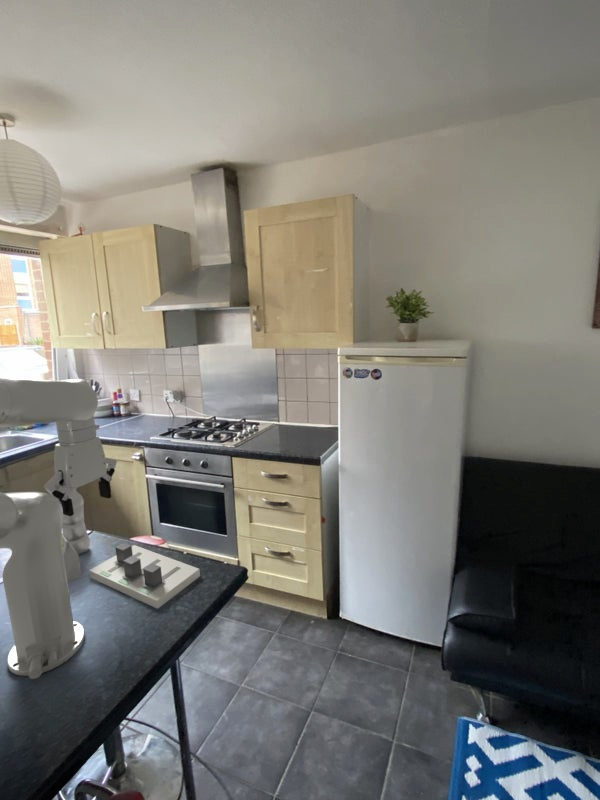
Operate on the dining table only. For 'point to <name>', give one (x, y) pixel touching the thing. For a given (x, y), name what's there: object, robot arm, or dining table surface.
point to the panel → (171, 570)
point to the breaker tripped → (123, 553)
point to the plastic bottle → (76, 525)
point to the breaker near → (152, 576)
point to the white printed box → (70, 560)
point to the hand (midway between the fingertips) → (87, 505)
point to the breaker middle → (132, 568)
